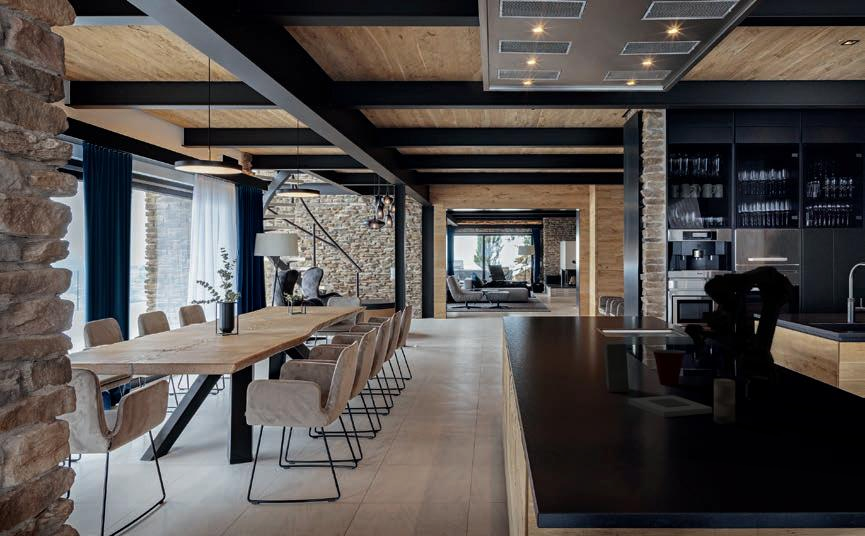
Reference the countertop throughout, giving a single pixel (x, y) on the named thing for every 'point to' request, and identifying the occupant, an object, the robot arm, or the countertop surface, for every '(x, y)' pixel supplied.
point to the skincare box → (616, 367)
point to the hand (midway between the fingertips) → (712, 362)
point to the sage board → (669, 406)
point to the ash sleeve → (724, 401)
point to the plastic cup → (668, 366)
